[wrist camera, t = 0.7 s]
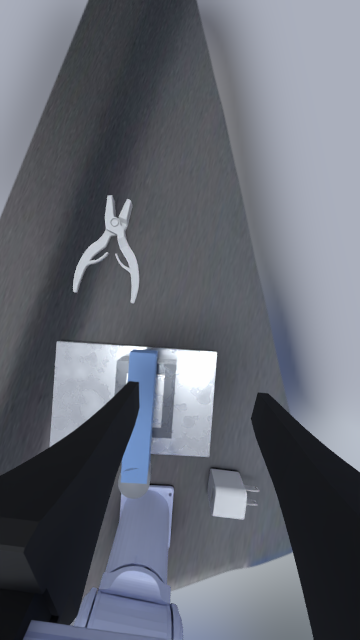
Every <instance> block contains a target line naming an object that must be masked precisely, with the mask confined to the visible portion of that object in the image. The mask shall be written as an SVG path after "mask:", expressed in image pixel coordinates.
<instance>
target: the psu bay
mask: <svg viewBox="0 0 360 640" xmlns="http://www.w3.org/2000/svg"><path fill="white" fill-rule="evenodd" d="M133 349H142V350H156V351H158V356H157V371H156V385H155V399H154V413H153V427H152V441H151V454H166V455H183V456H201V457H209V452H210V439H211V425H212V411H213V398H214V384H215V371H216V357H217V352H216V351H206V350H192V349H177V348H163V347H148V346H133V345H119V344H104V343H89V342H75V341H57V346H56V361H55V376H54V391H53V406H52V422H51V437H50V447H51V446H52V445H54V444H55V443H57V442H58V441H60V440H61V439H63V438H64V437H66V436H67V435H68V434H70V433H71V432H73V431H74V430H75V429H77V428H78V427H79V426H80V425H82V424H83V423H84V422H85V421H87V420H88V419H89V418H90V417H92V416H93V415H94V414H95V413H96V412H97V411H98V410H100V409H101V408H102V407H103V406H104V405H105V404H106V403H107V402H108V401H109V400H110V399H112V398H113V397H114V396H115V395H116V394H117V393H118V392H119V391H120V390H121V389H122V388H123V387H124V386H125V385H126V384H127V383H128V369H129V355H130V351H132V350H133Z"/></svg>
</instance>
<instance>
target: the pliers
mask: <svg viewBox="0 0 360 640" xmlns="http://www.w3.org/2000/svg"><path fill="white" fill-rule="evenodd" d="M132 207H133V205H132V202H131V200H129V199H127V201H126V203H125V205H124V207H123V209H122V211H121V213H120V215H119V219H118V218H117V217H116V210H115V201H114V199H113V197H112V195H111V196H108V198H107V206H106V214H105V224H106V230H105V232H104V234H103V235H102V236H101V238H100V239H99V240H97V241H96V242H95V243H93V244H92V245H90V247H89V248H88V249H87V250H86V251H85V253H84V254H83V256H82V257H81V259H80V261H79V263H78V265H77V268H76V271H75V275H74V281H73V292H76V293H78V289H79V286H80V283H81V280H82V277H83V275H84V272H85V270H86V268H87V266H89V265H91V264H95V263H98V262H100V261H102V260H103V259H104V258H106V257H107V255H108V254H109V253H108V252H106V253H105V254H104V255H103V256H102V257H101V258H99V259H97V260H92V259H93V257H94V256H95V255H97V254H98V253H99V252H100V251H102V250H103V249H104V248H106V247H107V245H108V242H109V240H110V238H111V237H112V236H117V238H118V243H119V247H120V250H121V251H122V253H123V254H124V256H125V258H126V260H127V261H128V264H129V267H130V268H128V267H126V266H124V265H123V264H122V263H121V261H120V259H119V257H118V255H117V254H115V255H116V258H117V260H118V262H119V264H120V265H121V266H122V267H123V268H124V269H126V270H127V271H128V272H129V273H130V274H131V282H132V292H131V303H135V300H136V297H137V294H138V289H139V268H138V263H137V260H136V257H135V255H134V253H133V251H132V250H131V248H130V247H129V244H128V242H127V238H126V233H125V231H126V229H127V227H128V223H129V219H130V215H131V211H132Z"/></svg>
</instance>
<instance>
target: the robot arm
mask: <svg viewBox="0 0 360 640" xmlns="http://www.w3.org/2000/svg"><path fill="white" fill-rule="evenodd" d="M139 408H140V404H139V382H134V381H129V382H128V383H127V384H126V385H125V386H124V387H123V388H122V389H121V390H120V391H119V392H118V393H117V394H116V395H115V396H114V397H113V398H112V399H110V400H109V401H108V402H107V403H106V404H105V405H104V406H103V407H102V408H101V409H100V410H98V411H97V412H96V413H95V414H94V415H93V416H92V417H90V418H89V419H88V420H87V421H85V422H84V423H83V424H82V425H80V426H79V427H78V428H77V429H75V430H74V431H73V432H71V433H70V434H68V435H67V436H66V437H64V438H63V439H61V440H60V441H58V442H57V443H55V444H54V445H52V446H51V447H49V448H48V449H46V450H45V451H43V452H41V453H40V454H38V455H36V456H35V457H33V458H31V459H30V460H28V461H26V462H25V463H23V464H21V465H19V466H18V467H16V468H14V469H12V470H10V471H9V472H7V473H5V474H3V475H1V476H0V640H183V627H182V620H181V617H180V614H179V611H178V607H177V605H176V604H173V603H171V604H170V591H171V587H170V586H169V585H167V567H168V548H169V547H170V535H171V521H172V507H173V493H174V488H173V487H172V486H158V485H149V488H148V491H147V492H146V493H145V494H144V495H143V496H142V497H140V498H136V499H131V498H127V497H125V496H124V495H123V494H122V493H121V506H120V520H119V525H118V528H117V532H116V535H115V539H114V542H113V546H112V549H111V553H110V556H109V560H108V564H107V567H106V571H105V572H104V573H103V576H102V579H101V583H100V586H99V590H98V593H97V588H94V587H93V588H91V590H90V592H89V593H88V594H87V595H86V596H85V597H84V598H83V601H82V603H81V600H82V596H83V592H84V589H85V585H86V581H87V577H88V573H89V569H90V565H91V562H92V558H93V554H94V551H95V547H96V543H97V540H98V536H99V532H100V529H101V525H102V521H103V518H104V514H105V511H106V507H107V504H108V500H109V497H110V494H111V490H112V487H113V484H114V480H115V477H116V474H117V471H118V468H119V466H120V463H121V460H122V458H123V455H124V453H125V450H126V447H127V445H128V442H129V440H130V437H131V434H132V432H133V429H134V426H135V423H136V420H137V416H138V412H139ZM251 420H252V424H253V429H254V432H255V436H256V439H257V442H258V445H259V447H260V450H261V453H262V455H263V458H264V461H265V463H266V466H267V469H268V471H269V474H270V476H271V479H272V482H273V485H274V487H275V490H276V493H277V497H278V500H279V503H280V507H281V510H282V514H283V517H284V521H285V524H286V528H287V532H288V535H289V539H290V543H291V546H292V550H293V554H294V558H295V562H296V566H297V569H298V574H299V578H300V582H301V586H302V590H303V594H304V598H305V603H306V607H307V612H308V616H309V620H310V625H311V629H312V634H313V637H314V640H360V472H358V471H357V470H356V469H355V468H353V467H352V466H351V465H349V464H348V463H346V462H345V461H344V460H343V459H341V458H340V457H339V456H337V455H336V454H335V453H334V452H332V451H331V450H330V449H329V448H327V447H326V446H325V445H324V444H322V443H321V442H320V441H319V440H318V439H317V438H316V437H314V436H313V435H312V434H311V433H310V432H309V431H307V430H306V429H305V428H304V427H303V426H302V425H301V424H300V423H299V422H298V421H297V420H295V419H294V418H293V417H292V416H291V415H290V414H289V413H288V412H287V411H286V410H285V409H284V408H283V407H282V406H281V405H280V404H279V403H278V402H277V401H276V400H275V399H274V398H272V397H271V396H270V395H269V394H268V393H258V394H257V398H256V401H255V405H254V409H253V413H252V417H251ZM169 493H171V494H169ZM96 593H97V594H96ZM80 604H81V606H80ZM79 608H80V609H79ZM75 618H76V620H75V623H74V626H71V625H70V624H71V623H72V622H73V620H74V619H75Z"/></svg>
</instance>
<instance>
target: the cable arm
mask: <svg viewBox="0 0 360 640" xmlns="http://www.w3.org/2000/svg"><path fill="white" fill-rule="evenodd" d="M157 356H158V351H156V350H142V349H133V350H132V351H130V355H129V369H128V382H129V381H134V382H139V404H140V408H139V412H138V416H137V420H136V423H135V426H134V429H133V432H132V434H131V437H130V440H129V442H128V445H127V447H126V450H125V453H124V455H123V458H122V470H121V474H120V476H119V480H118V487H119V490H120V492H121V493H122V494H123V495H124V496H125V497H127V498H131V499H136V498H140V497H142V496H143V495H144V494H145V493H146V492H147V491H148V488H149V484H150V478H151V472H152V465H151V462H150V455H151V441H152V427H153V413H154V399H155V385H156V371H157Z"/></svg>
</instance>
